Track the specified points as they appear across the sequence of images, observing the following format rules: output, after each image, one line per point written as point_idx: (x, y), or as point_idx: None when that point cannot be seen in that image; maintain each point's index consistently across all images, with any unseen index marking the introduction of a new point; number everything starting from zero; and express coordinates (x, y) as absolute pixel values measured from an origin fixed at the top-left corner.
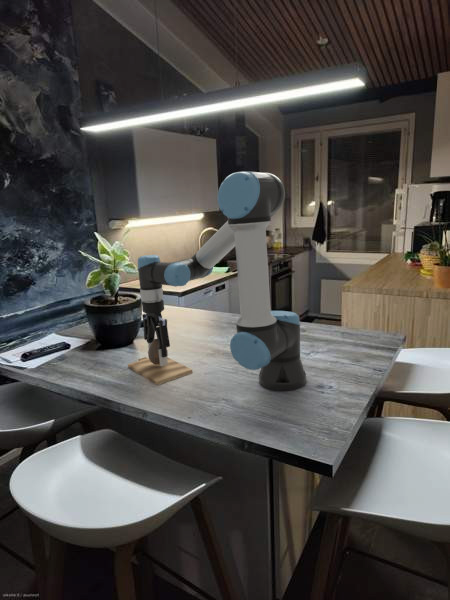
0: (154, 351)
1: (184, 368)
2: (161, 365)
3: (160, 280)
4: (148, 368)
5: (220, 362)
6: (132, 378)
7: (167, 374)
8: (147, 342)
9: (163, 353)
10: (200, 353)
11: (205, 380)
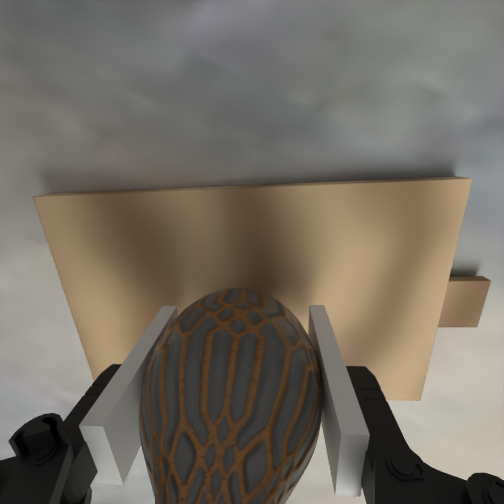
0: (159, 369)
1: None
2: (162, 312)
3: None
4: (268, 252)
5: (146, 486)
6: (241, 113)
7: (106, 289)
8: (397, 445)
9: (85, 397)
10: (291, 495)
11: (3, 373)
